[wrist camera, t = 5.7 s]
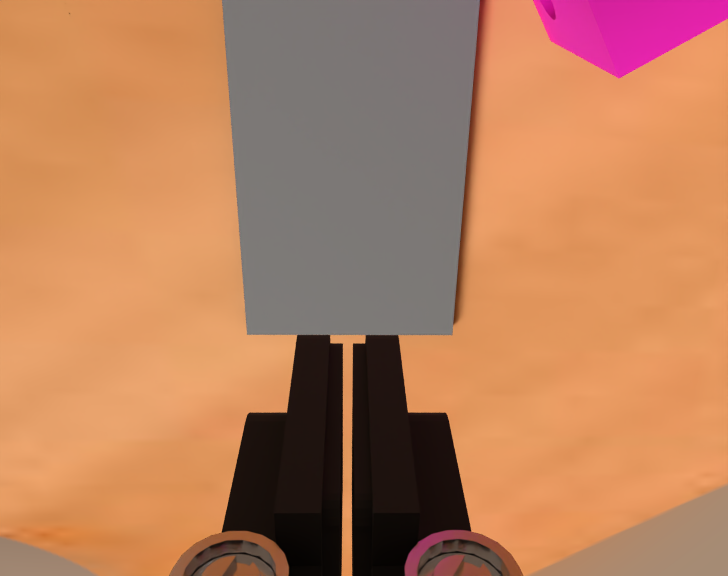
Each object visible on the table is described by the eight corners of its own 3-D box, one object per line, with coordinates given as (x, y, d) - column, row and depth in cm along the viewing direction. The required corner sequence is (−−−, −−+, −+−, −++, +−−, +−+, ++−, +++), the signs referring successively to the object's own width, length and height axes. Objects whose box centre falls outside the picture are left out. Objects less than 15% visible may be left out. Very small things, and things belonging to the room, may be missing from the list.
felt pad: (216, -113, 23) (213, -115, 23) (485, -109, 23) (489, -110, 23) (248, 327, 31) (247, 334, 30) (450, 328, 31) (452, 335, 30)
